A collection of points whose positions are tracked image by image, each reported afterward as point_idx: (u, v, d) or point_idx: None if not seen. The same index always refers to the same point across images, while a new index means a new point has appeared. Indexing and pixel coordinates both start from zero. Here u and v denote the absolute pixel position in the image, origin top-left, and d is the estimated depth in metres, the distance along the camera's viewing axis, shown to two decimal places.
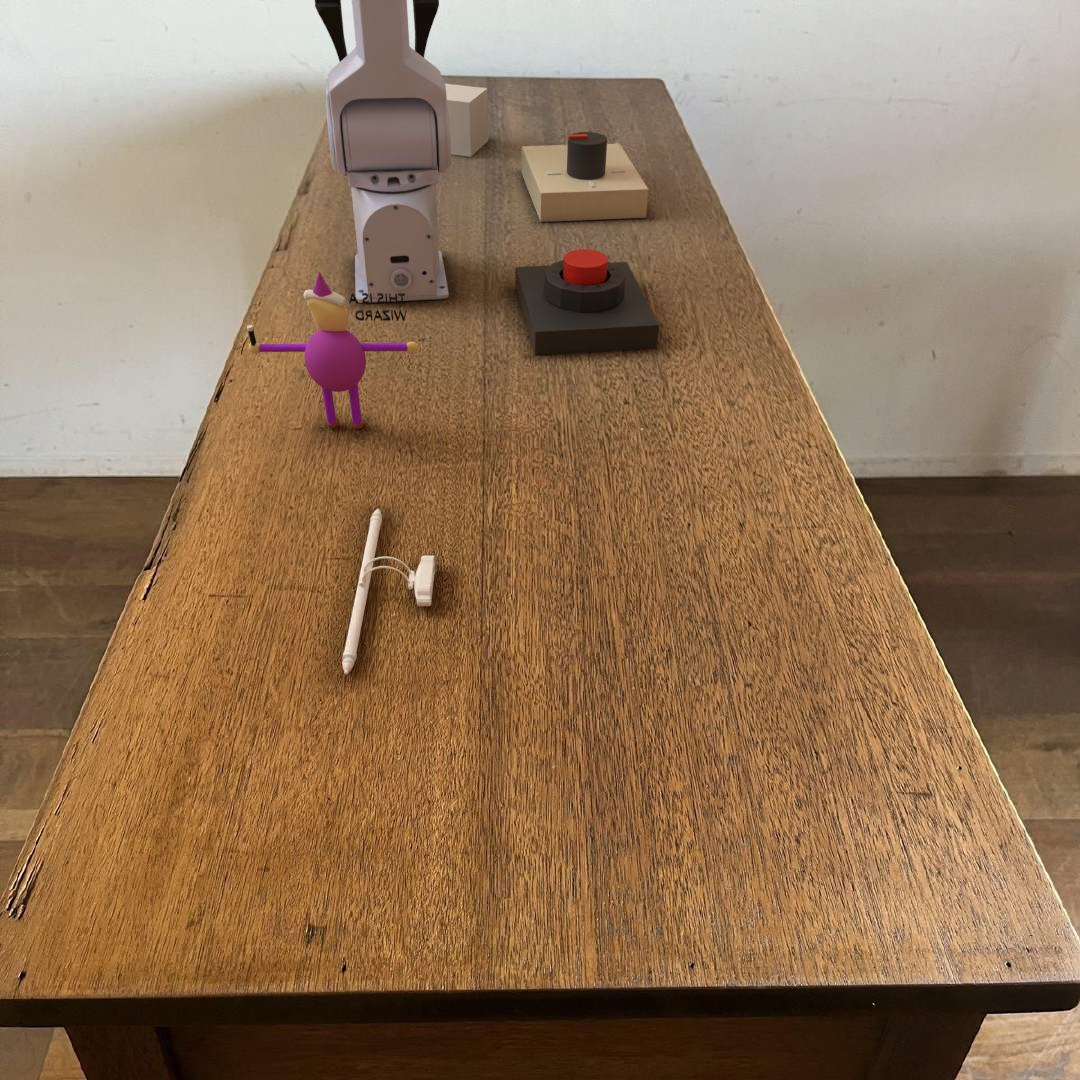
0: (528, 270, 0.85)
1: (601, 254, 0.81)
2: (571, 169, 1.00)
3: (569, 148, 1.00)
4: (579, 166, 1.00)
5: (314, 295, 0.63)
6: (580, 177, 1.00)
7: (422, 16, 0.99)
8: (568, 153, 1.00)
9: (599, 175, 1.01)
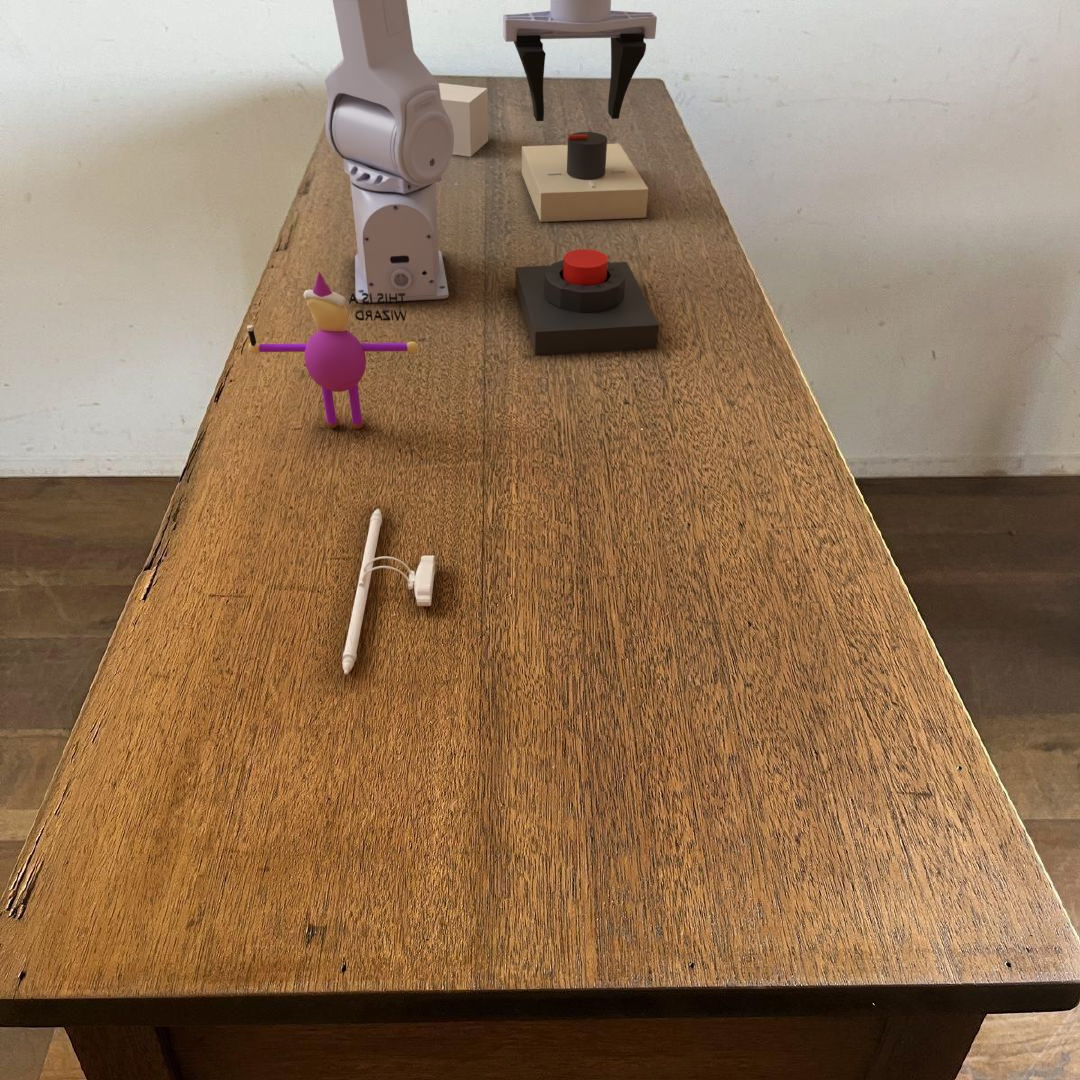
0: (528, 270, 0.85)
1: (601, 254, 0.81)
2: (571, 169, 1.00)
3: (569, 148, 1.00)
4: (579, 166, 1.00)
5: (314, 295, 0.63)
6: (580, 177, 1.00)
7: (628, 60, 0.94)
8: (568, 153, 1.00)
9: (599, 175, 1.01)
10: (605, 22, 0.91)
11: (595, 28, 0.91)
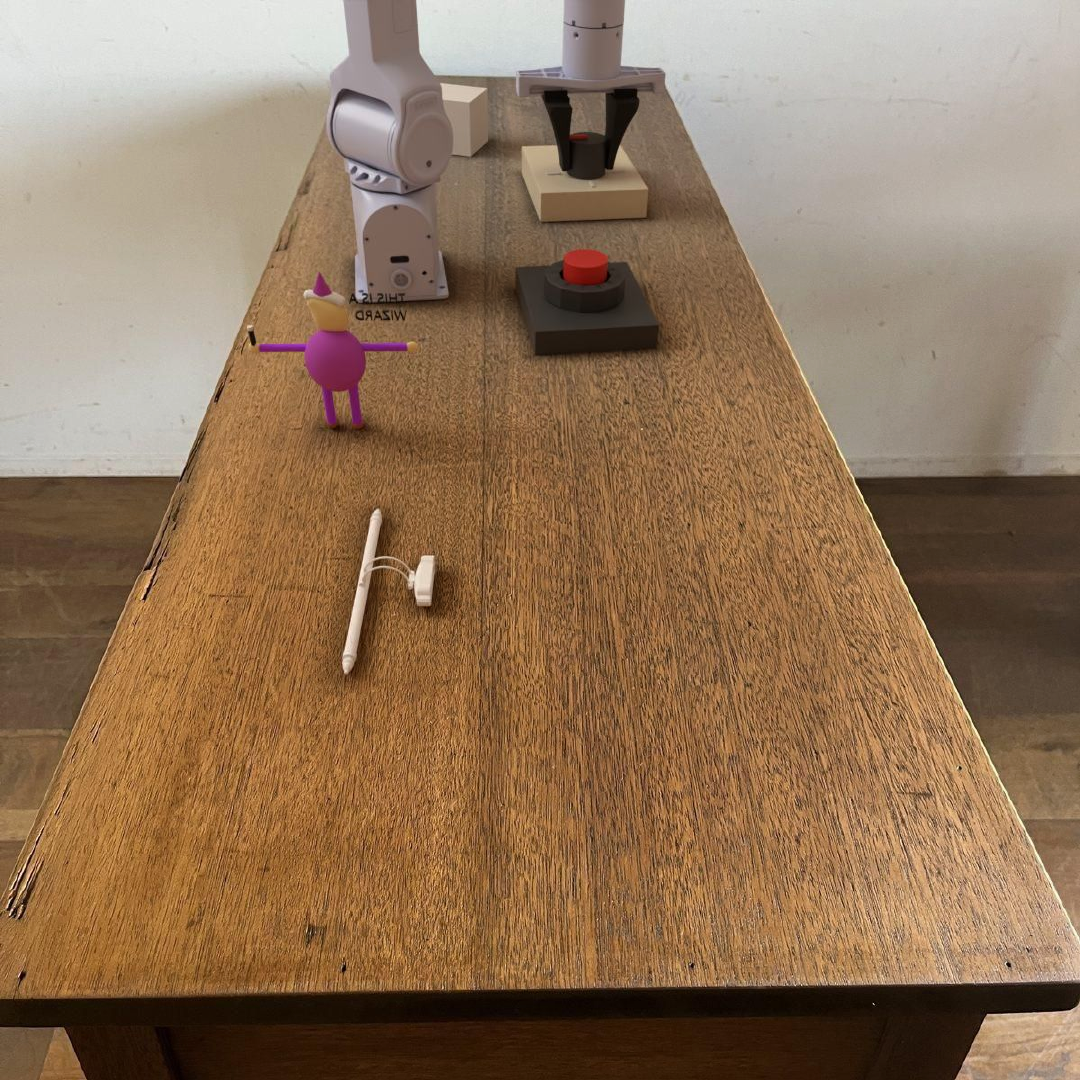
0: (528, 270, 0.85)
1: (601, 254, 0.81)
2: (571, 169, 1.00)
3: None
4: (579, 166, 1.00)
5: (314, 295, 0.63)
6: (580, 177, 1.00)
7: (621, 115, 0.96)
8: None
9: (599, 175, 1.01)
10: (615, 79, 0.94)
11: (606, 85, 0.94)
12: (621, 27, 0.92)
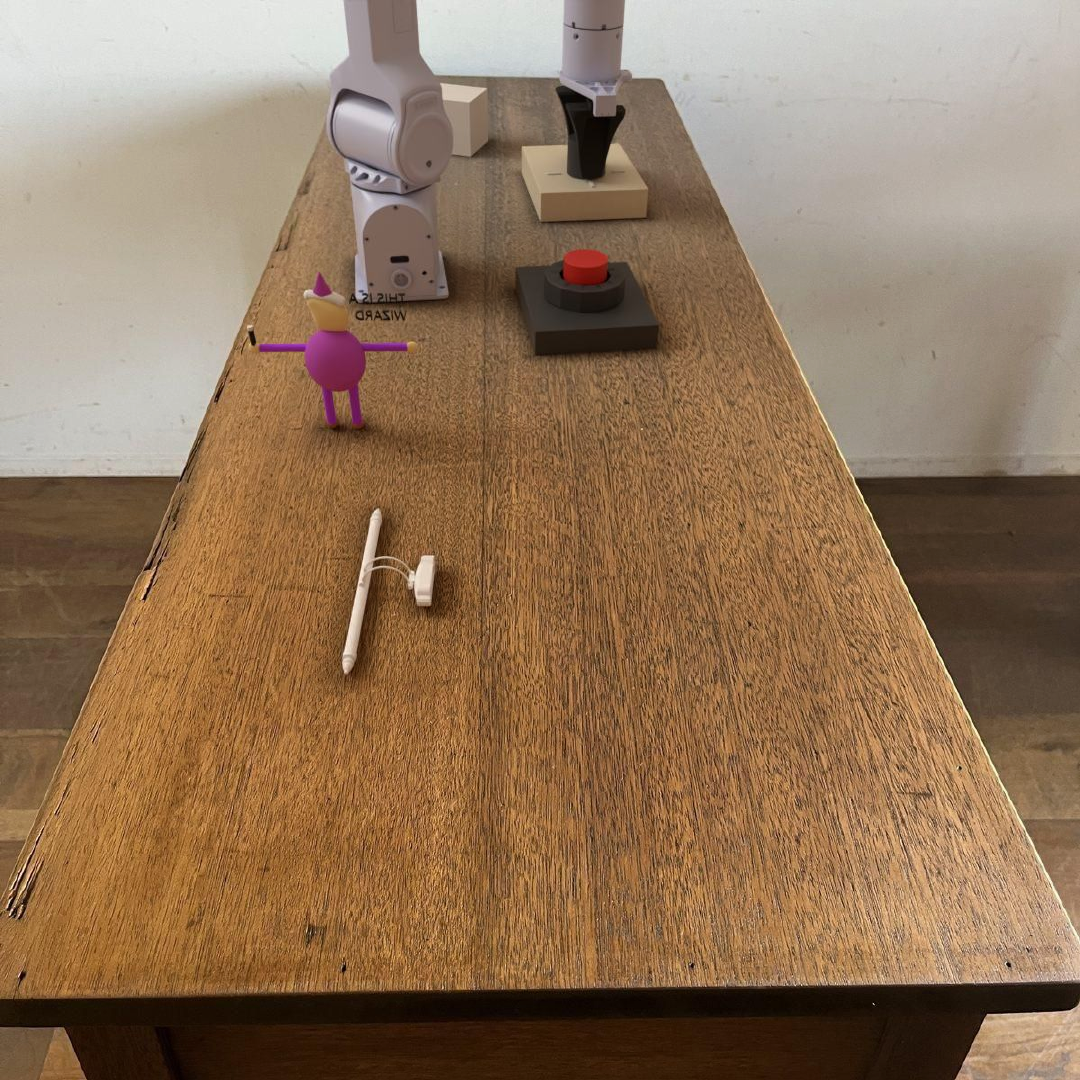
0: (528, 270, 0.85)
1: (601, 254, 0.81)
2: None
3: None
4: None
5: (314, 295, 0.63)
6: None
7: (571, 120, 0.96)
8: None
9: (572, 174, 1.01)
10: (569, 80, 0.94)
11: (563, 81, 0.95)
12: (582, 32, 0.91)
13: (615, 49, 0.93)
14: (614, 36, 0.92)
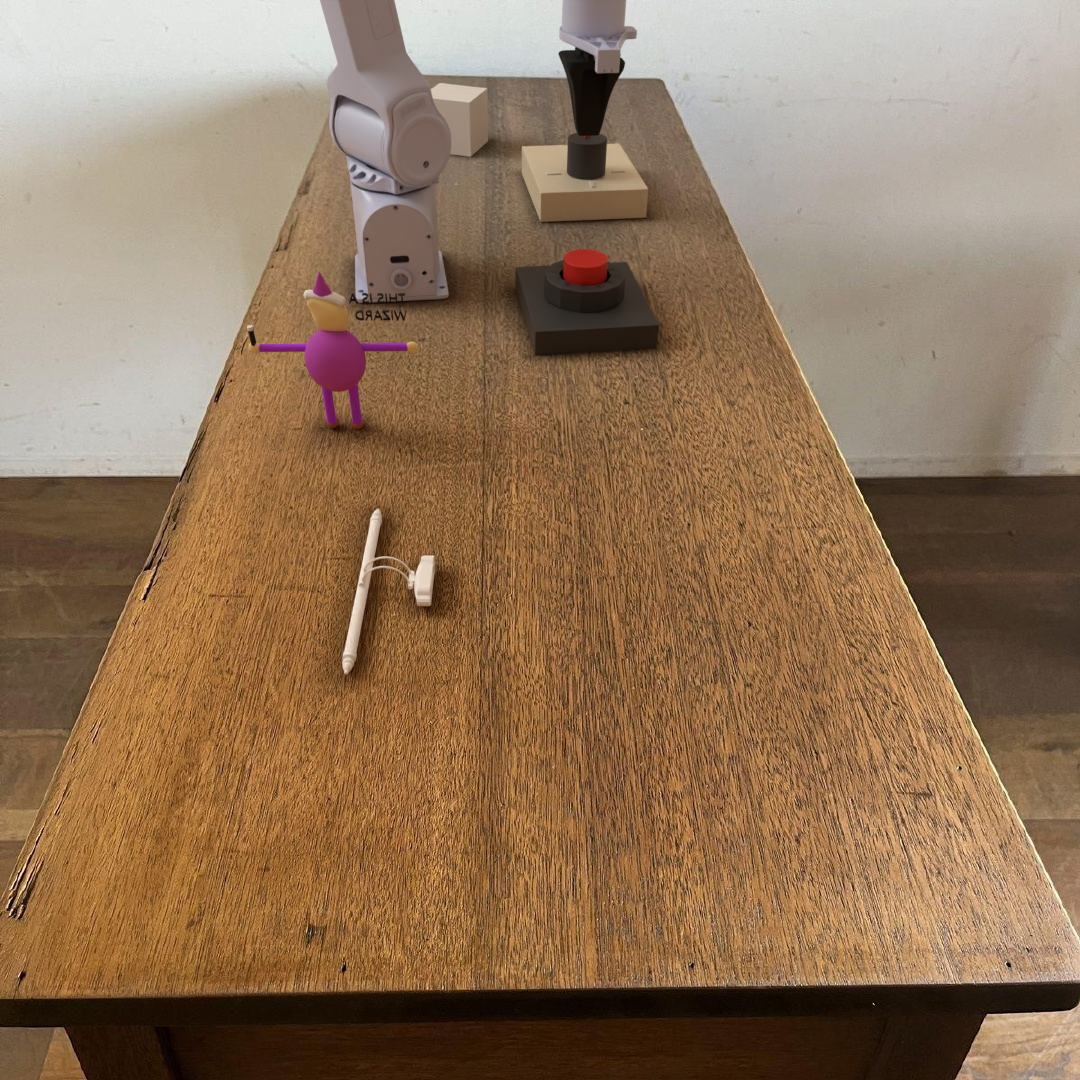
0: (528, 270, 0.85)
1: (601, 254, 0.81)
2: None
3: None
4: None
5: (314, 295, 0.63)
6: None
7: (568, 73, 0.91)
8: None
9: (571, 174, 1.01)
10: (569, 35, 0.88)
11: (563, 37, 0.89)
12: None
13: (619, 2, 0.86)
14: None
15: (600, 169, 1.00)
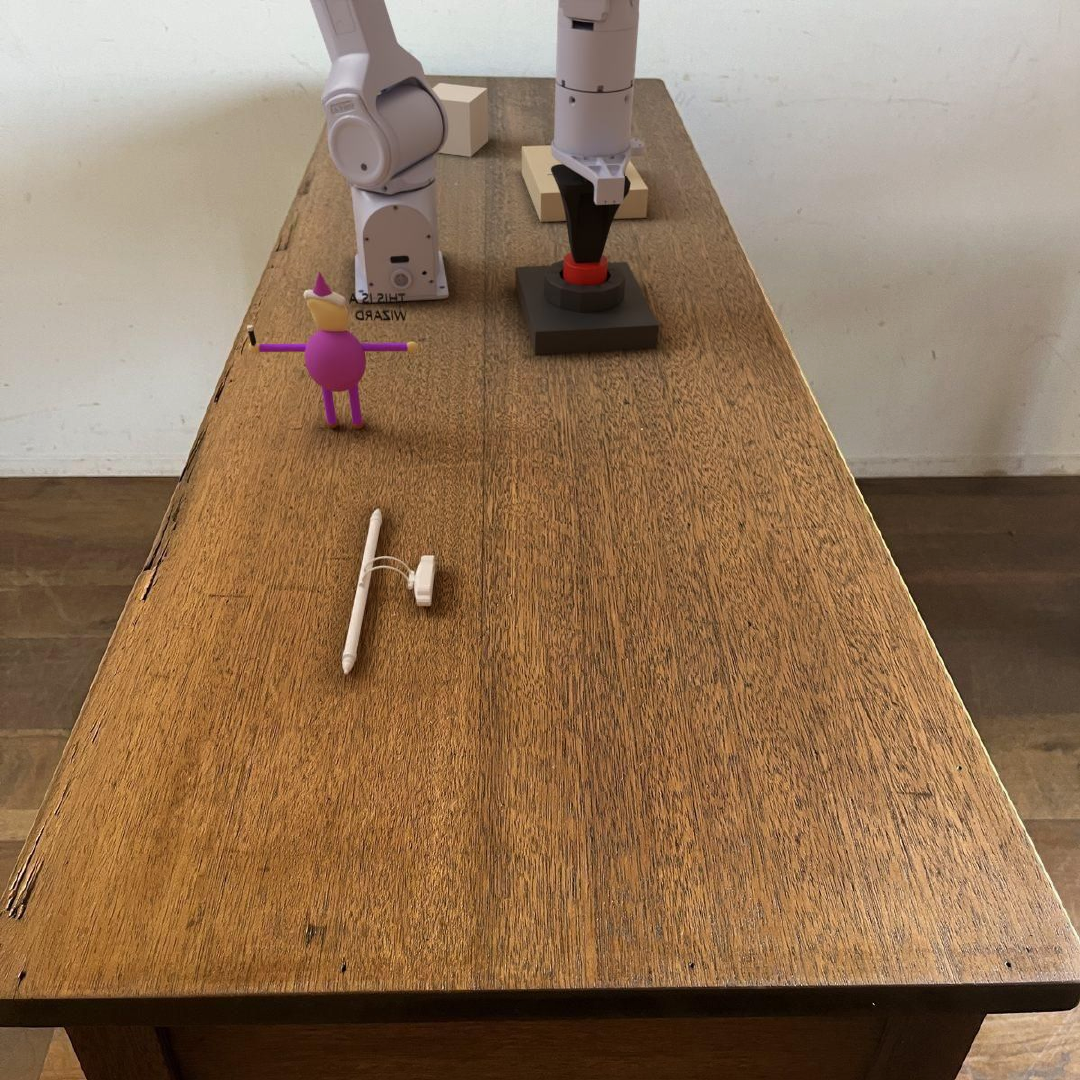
0: (528, 270, 0.85)
1: None
2: None
3: None
4: None
5: (314, 295, 0.63)
6: None
7: None
8: None
9: None
10: (563, 154, 0.73)
11: (555, 155, 0.74)
12: (580, 94, 0.70)
13: (623, 116, 0.71)
14: (622, 100, 0.70)
15: None
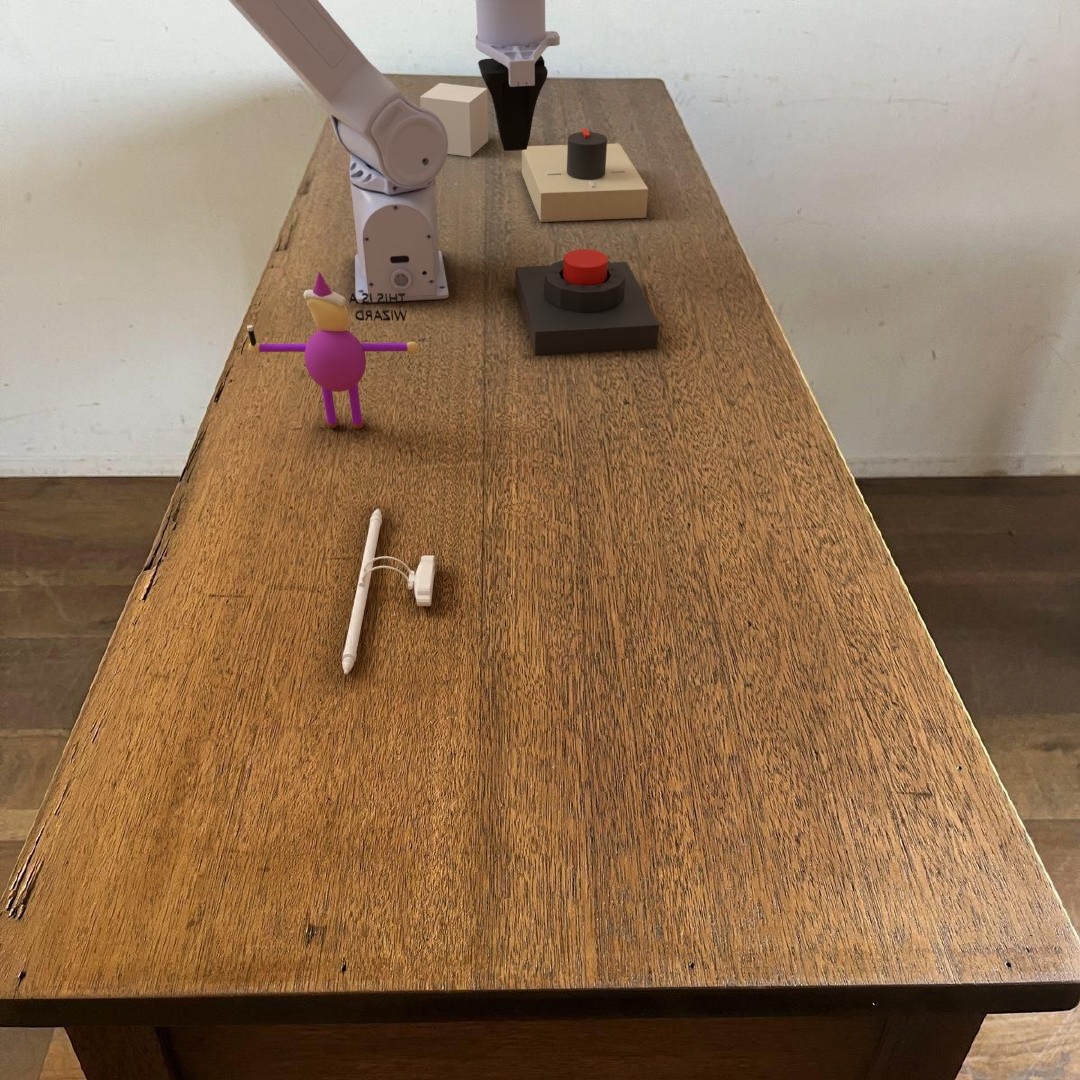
0: (528, 270, 0.85)
1: (601, 254, 0.81)
2: None
3: None
4: None
5: (314, 295, 0.63)
6: None
7: None
8: None
9: (571, 174, 1.01)
10: (483, 44, 0.81)
11: (478, 47, 0.82)
12: None
13: (535, 7, 0.79)
14: None
15: (600, 169, 1.00)
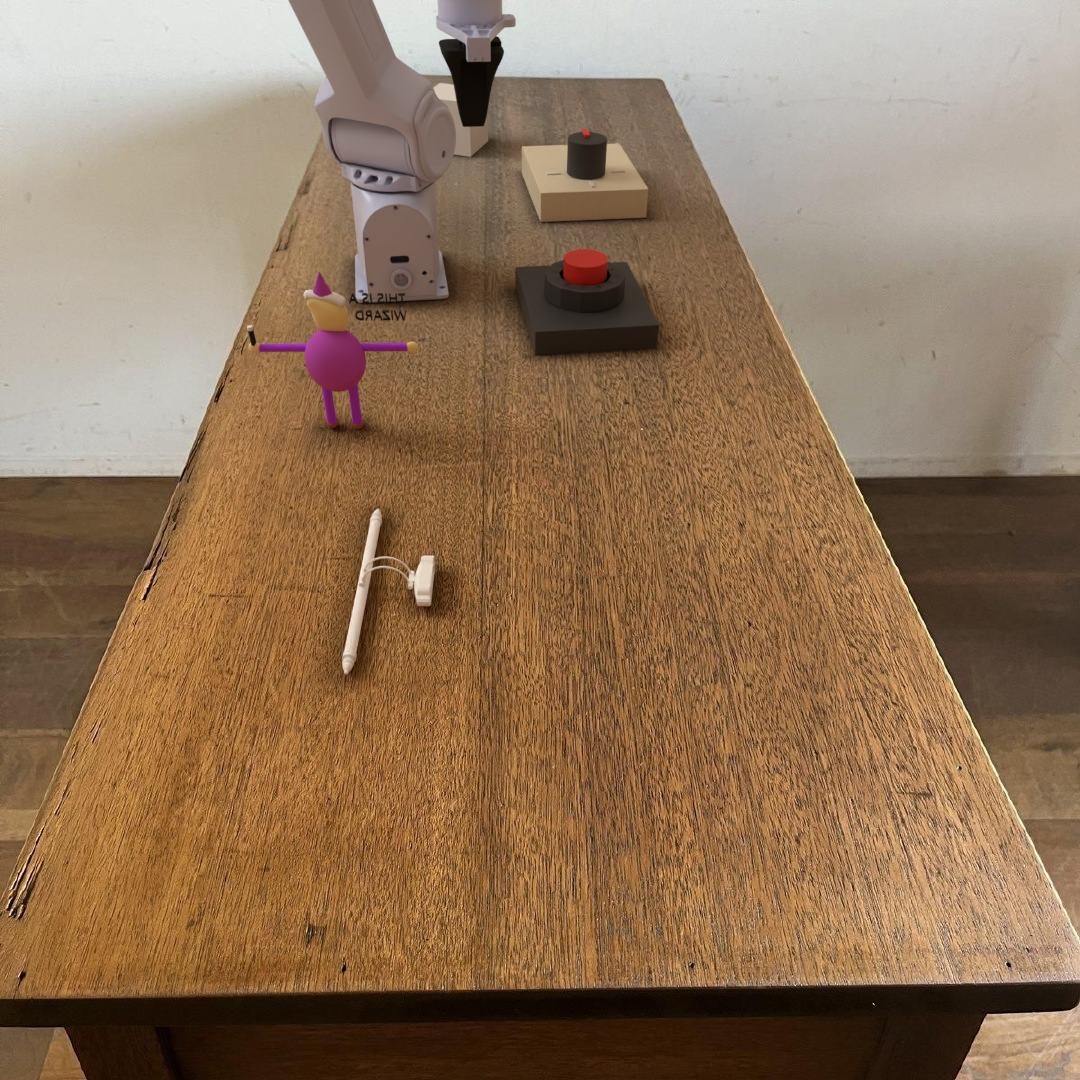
0: (528, 270, 0.85)
1: (601, 254, 0.81)
2: None
3: None
4: None
5: (314, 295, 0.63)
6: None
7: None
8: None
9: (571, 174, 1.01)
10: (443, 23, 0.86)
11: (438, 26, 0.87)
12: None
13: None
14: None
15: (600, 169, 1.00)
